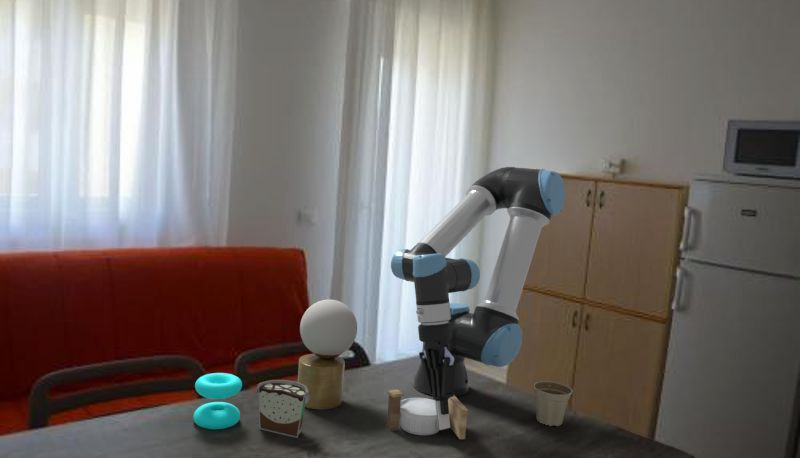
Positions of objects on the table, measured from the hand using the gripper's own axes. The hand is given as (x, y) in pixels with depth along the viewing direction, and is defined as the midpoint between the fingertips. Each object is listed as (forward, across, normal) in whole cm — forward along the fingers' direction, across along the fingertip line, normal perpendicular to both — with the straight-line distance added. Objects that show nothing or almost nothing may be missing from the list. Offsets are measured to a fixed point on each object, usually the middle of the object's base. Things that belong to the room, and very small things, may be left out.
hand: (443, 428), depth 148 cm
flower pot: (+5, -1, +31) cm, 31 cm away
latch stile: (0, -8, -9) cm, 12 cm away
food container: (-3, -15, -32) cm, 35 cm away
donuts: (-6, -22, -45) cm, 50 cm away
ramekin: (+1, -7, -2) cm, 7 cm away
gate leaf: (+1, -2, +4) cm, 5 cm away
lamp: (-5, -29, -17) cm, 34 cm away
